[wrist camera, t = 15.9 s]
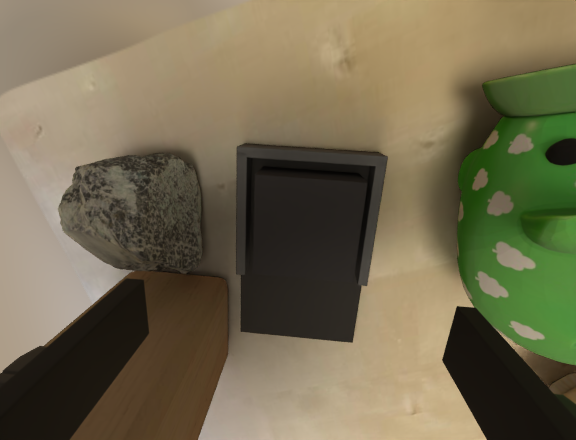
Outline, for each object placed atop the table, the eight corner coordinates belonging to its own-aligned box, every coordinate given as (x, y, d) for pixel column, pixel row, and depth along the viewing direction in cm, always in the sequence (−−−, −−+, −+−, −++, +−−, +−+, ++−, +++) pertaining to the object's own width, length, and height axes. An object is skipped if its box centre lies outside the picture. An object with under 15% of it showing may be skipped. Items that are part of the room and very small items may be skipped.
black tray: (351, 336, 31) (355, 357, 28) (242, 325, 32) (235, 345, 29) (379, 152, 25) (388, 156, 22) (244, 143, 26) (236, 146, 23)
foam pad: (260, 253, 28) (252, 273, 24) (263, 166, 25) (254, 174, 21) (347, 260, 27) (353, 283, 24) (359, 173, 25) (367, 182, 21)
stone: (173, 260, 18) (8, 205, 18) (185, 300, 27) (74, 264, 26) (229, 150, 23) (101, 104, 23) (224, 213, 32) (131, 181, 31)
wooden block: (141, 345, 34) (-77, 637, 15) (132, 265, 30) (-163, 506, 11) (230, 355, 33) (122, 669, 14) (230, 274, 30) (90, 541, 11)
